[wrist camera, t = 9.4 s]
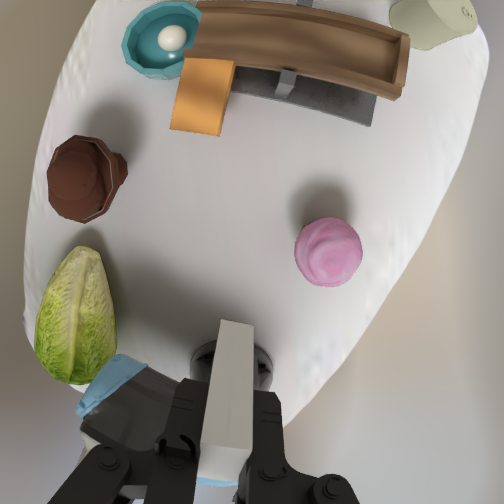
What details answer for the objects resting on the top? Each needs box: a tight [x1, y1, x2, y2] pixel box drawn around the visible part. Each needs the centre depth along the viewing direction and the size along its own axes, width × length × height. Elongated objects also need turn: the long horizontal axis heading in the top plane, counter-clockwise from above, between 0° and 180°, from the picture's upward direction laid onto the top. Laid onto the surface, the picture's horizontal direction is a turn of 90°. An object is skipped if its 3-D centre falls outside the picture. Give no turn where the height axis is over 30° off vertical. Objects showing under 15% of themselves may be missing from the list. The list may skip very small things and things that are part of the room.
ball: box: [158, 25, 187, 51], centre depth 30 cm, size 4×4×4 cm
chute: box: [170, 0, 411, 137], centre depth 28 cm, size 17×24×6 cm
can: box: [389, 0, 478, 51], centre depth 24 cm, size 9×9×12 cm
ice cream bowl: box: [47, 135, 128, 224], centre depth 32 cm, size 11×11×15 cm
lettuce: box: [34, 246, 117, 385], centre depth 42 cm, size 15×24×16 cm
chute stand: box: [230, 0, 377, 127], centre depth 29 cm, size 13×22×10 cm, turn 78°
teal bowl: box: [121, 1, 202, 80], centre depth 30 cm, size 12×12×4 cm
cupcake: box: [294, 217, 363, 287], centre depth 38 cm, size 9×9×10 cm
